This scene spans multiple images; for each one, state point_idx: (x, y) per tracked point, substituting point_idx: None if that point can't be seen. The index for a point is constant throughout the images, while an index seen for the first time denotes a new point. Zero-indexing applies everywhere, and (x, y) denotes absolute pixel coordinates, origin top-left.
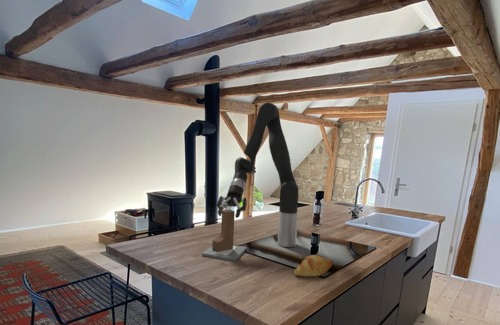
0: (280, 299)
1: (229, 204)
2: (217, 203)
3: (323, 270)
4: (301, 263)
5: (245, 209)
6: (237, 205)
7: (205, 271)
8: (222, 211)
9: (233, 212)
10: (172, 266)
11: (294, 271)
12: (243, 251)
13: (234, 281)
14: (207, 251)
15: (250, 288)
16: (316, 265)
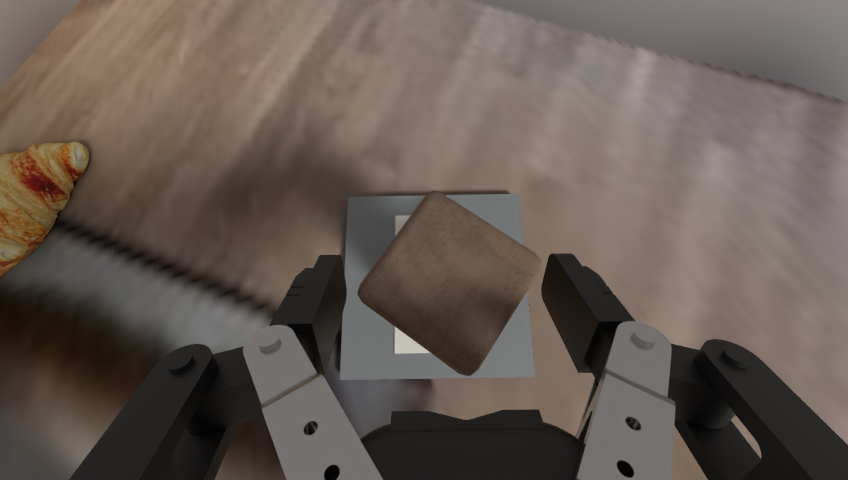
0: (151, 4)
1: (501, 416)
2: (775, 386)
3: None
4: (23, 200)
5: (188, 434)
6: (302, 384)
7: (424, 74)
8: (526, 248)
9: (369, 275)
10: (554, 66)
11: (77, 142)
12: (344, 319)
13: (303, 47)
14: (505, 222)
15: (244, 27)
16: None
